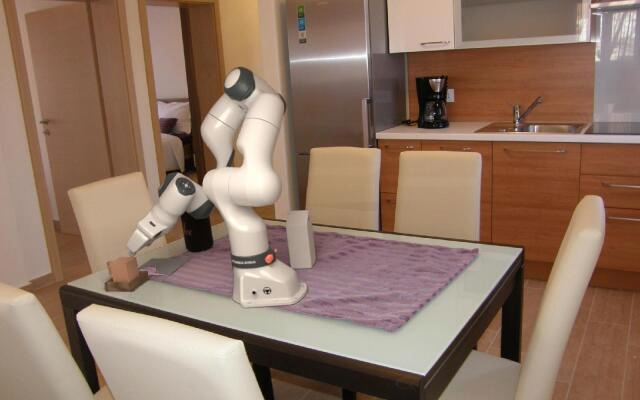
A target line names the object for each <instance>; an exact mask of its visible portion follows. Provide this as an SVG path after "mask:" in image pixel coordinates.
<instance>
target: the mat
mask: <svg viewBox="0 0 640 400" xmlns="http://www.w3.org/2000/svg"><path fill="white" fill-rule="evenodd" d="M190 260H191V257H174V258H173V257H166V258H165V257H161V258H160V257H157V258H154V257H153V258H152V257H151V259H148V261H146V262H144V263H143V264H142V265H140V266H138V270H141V269H144V268H146V267H149V266H152V265H154V264H155V266H156V267H154V268H156V272H155V273H159V274H164V275H170V274H171V275H172V273H173V272H174V271H175V272H177V271H178V270H179V269H180V268H182V267H183V266H184V265H185V264H187V263H188V262H189V261H190ZM177 269H178V270H177ZM157 271H158V272H157ZM175 272H174V273H175ZM174 273H173V274H174ZM171 275H170V276H171Z"/></svg>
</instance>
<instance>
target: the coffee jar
mask: <svg viewBox="0 0 640 400" xmlns="http://www.w3.org/2000/svg"><path fill="white" fill-rule="evenodd" d="M210 216H211V215H209V217H207V218H203V219H195V218H194V217H193V216H191V215H190V214H189V213H188V212H186V211H185V212H184V213H183V214H182V215H181V216H180V217H179V218H180V222H181V229H182V232H183V233H182V234H183V239H184V244H185V248H186V250H187V251H188V252H191V253H200V252H201V253H202V252H206V251H208V250H210V249H212V247H213V246H214V237H213V231H212V223H211V218H210Z"/></svg>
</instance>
